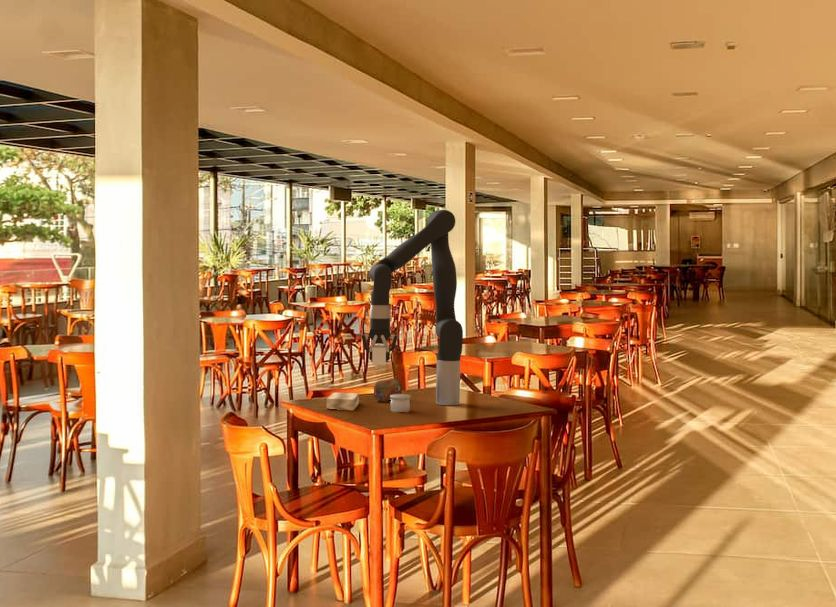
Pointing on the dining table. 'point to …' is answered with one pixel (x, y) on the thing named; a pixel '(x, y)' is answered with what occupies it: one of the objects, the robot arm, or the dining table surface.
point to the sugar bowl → (400, 402)
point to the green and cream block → (379, 355)
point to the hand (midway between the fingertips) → (379, 361)
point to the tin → (386, 389)
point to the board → (343, 401)
